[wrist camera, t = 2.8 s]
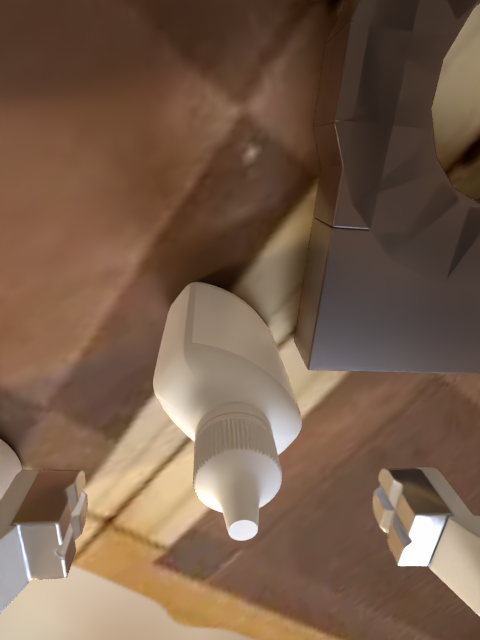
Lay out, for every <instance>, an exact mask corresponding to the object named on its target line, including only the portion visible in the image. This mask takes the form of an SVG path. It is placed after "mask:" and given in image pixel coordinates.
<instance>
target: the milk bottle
mask: <svg viewBox="0 0 480 640" xmlns="http://www.w3.org/2000/svg"><path fill="white" fill-rule="evenodd" d="M21 470H23V469H22V466H21V463H20V460H19V459H18V457H17V455H16V454H15V452H14V451H13V450H12V449H11V448H10V447H9V446H8V444H7V443H5V442H4V441H3V440H1V439H0V500H1V499H2V497H3V496H4V494H5V492H6V491H7V489H8V487H9V486H10V484H11V482H12V481H13V479H14V477H15V476H16V474H18V473H19V472H20V471H21Z"/></svg>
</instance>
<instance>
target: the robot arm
mask: <svg viewBox="0 0 480 640" xmlns="http://www.w3.org/2000/svg"><path fill="white" fill-rule="evenodd" d="M378 480H379V482H380V484H381V485H380V486H379V487H378V488H377V489H376V490H375V491H374V495H373V499H372V503H373V512H374V516H375V519H376V521H377V523H378V525H379V527H380V528H381V529H383V530H384V531H385V532H386V533H387V534H388V537H387V541H386V542H387V544H388V546H389V548H390V550H391V552H392V554H393V557H394V559H395V561H396V563H397V565H398V566H429V568H430V569H431V570H432V571H433V572H434V573H435V574H436V575H437V576H438V577H439V578H440V579H441V580H442V581H443V582H444V583H445V584H446V585H447V586H448V587H450V588H451V589H452V590H453V591H454V592H455V593H456V594H457V595H458V596H459V597H460V598H461V599H462V600H463V601H464V602H465V603H466V604H467V605H468V606H469V607H470V608H471V609H472V610H473V611H474V612H475V613H476V614H478V615H479V616H480V516H473V514H472V513H471V512H470V511H469V509H468V508H467V507H466V505H465V504H464V503H463V501H462V500H461V499H460V497H459V496H458V495H457V494H456V492H455V491H454V490H453V488H452V487H451V486H450V484H449V483H448V482H447V481H446V479H445V478H444V477H443V475H442V474H441V473H440V471H439V470H437V469H436V468H434V467H427V468H383V469H382V470H381V471H380V473H379V477H378ZM85 482H86V481H85V474H84V471H82V470H21V471H20V472H19V473H18V474H16V476H15V477H14V479H13V481H12V482H11V484H10V486H9V487H8V489H7V491H6V492H5V494H4V496H3V497H2V499H1V500H0V613H1V612H2V611H3V610H4V609H5V608H6V607H7V606H8V605H9V604H10V603H11V601H12V600H13V599H14V598H15V597H16V596H17V595H18V594H19V593H20V592H21V591H22V590H23V588H24V587H25V586H26V585H27V584H28V583H29V581H28V580H42V579H57V578H67V575H68V573H69V570H70V567H71V564H72V561H73V558H74V555H75V552H76V547H75V540H76V539H77V538H78V537H79V536H80V535H81V534H82V531H83V528H84V525H85V521H86V515H87V506H88V500H87V494H86V493H85V492H84V491H83V487H84V484H85Z"/></svg>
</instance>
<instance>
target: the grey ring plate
mask: <svg viewBox="0 0 480 640" xmlns="http://www.w3.org/2000/svg"><path fill="white" fill-rule="evenodd" d="M479 3H480V0H346V2H345V4H344V6H343V8H342V10H341V12H340V14H339V16H338V18H337V20H336V22H335V24H334V26H333V28H332V30H331V32H330V34H329V36H328V39H327V41H326V43H325V47H324V53H323V60H322V67H321V75H320V82H319V89H318V96H317V104H316V111H315V118H314V125H313V126H314V128H313V131H314V136H315V140H316V145H317V150H318V154H319V159H320V163H321V169H320V176H319V182H318V189H317V195H316V202H315V209H314V218H313V222H312V228H311V235H310V241H309V248H308V255H307V261H306V268H305V275H304V281H303V288H302V294H301V301H300V308H299V314H298V321H297V328H296V334H295V341H294V342H295V344H296V346H297V348H298V350H299V352H300V354H301V357H302V359H303V361H304V363H305V365H306V367H307V369H308V370H333V371H375V372H417V373H458V374H480V199H478V200H475V201H474V200H472V199H471V198H469V197H468V196H466V195H465V194H463V193H461V192H460V191H458V190H457V189H455V188H454V187H453V186H452V184H451V182H450V180H449V178H448V177H447V175H446V173H445V171H444V169H443V168H442V166H441V164H440V162H439V161H438V159H437V157H436V154H435V143H434V132H433V122H432V111H431V108H432V104H433V100H434V96H435V91H436V87H437V83H438V79H439V75H440V71H441V67H442V63H443V59H444V57H445V55H446V54H447V52H448V50H449V49H450V47H451V45H452V44H453V42H454V40H455V39H456V37H457V35H458V34H459V32H460V30H461V29H462V27H463V25H464V23H465V22H466V20H467V18H468V17H469V15H470V13H471V12H472V10H473V8H475V7H476V6H477V5H478V4H479Z"/></svg>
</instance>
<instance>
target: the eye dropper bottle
mask: <svg viewBox="0 0 480 640" xmlns="http://www.w3.org/2000/svg"><path fill="white" fill-rule="evenodd" d="M153 388H154V392H155V395H156V397H157V399H158V401H159V402H160V404H161V406H162V407H163V409H164V410H165V412H166V413H167V414H168V416H169V417H170V418H171V419H172V421H173V422H174V423H175V424H176V425H177V426H178V427H179V428H180V429H181V430H182V431H183V432H184V433H185V434H186V435H187V436H188V437H189V438H191V439H192V440H193V441H194V442H195V445H194V471H193V487H194V490H195V492H196V494H197V497H198V498H200V500H201V501H202V502H203V503H204V504H205V505H207V506H208V507H210V508H212V509H214V510H216V511H219V512H222V513H223V515H224V518H225V522H226V526H227V530H228V533H229V535H230V537H231V538H233V539H235V540H240V541H243V540H248V539H250V538H252V537H254V536H255V535H256V533H257V531H258V518H259V508H260V507H262V506H264V505H265V504H267V503H268V502H269V501H270V500H271V499H272V498H273V497H274V496H275V495H276V494H277V492H278V490H279V488H280V486H281V483H282V470H281V466H280V461H279V457H278V455H279V454H280V453H282V452H283V451H284V450H285V449H286V448H287V447H288V446H289V445H290V444H291V443H292V442H293V441H294V439H295V438H296V437H297V436H298V434H299V432H300V430H301V426H302V421H301V414H300V411H299V408H298V404H297V401H296V398H295V395H294V393H293V390H292V387H291V384H290V382H289V379H288V376H287V373H286V371H285V368H284V365H283V363H282V360H281V357H280V355H279V352H278V349H277V346H276V344H275V341H274V339H273V336H272V334H271V332H270V330H269V329H268V327H267V325H266V324H265V322H264V321H263V320H262V318H261V317H260V316H259V315H258V314H257V312H256V311H255V310H254V309H253V308H252V307H250V306H249V305H248V304H247V303H246V302H244V301H243V300H242V299H240V298H239V297H237V296H236V295H234V294H232V293H230V292H228V291H226V290H224V289H222V288H219V287H216V286H213V285H210V284H206V283H201V282H193V283H190V284H189V285H187V286H186V287H185V288H184V289H183V291H182V292H181V293H180V294H179V296H178V297H177V298H176V300H175V301H174V302H173V304H172V305H171V307H170V310H169V313H168V317H167V321H166V325H165V329H164V333H163V338H162V342H161V346H160V350H159V355H158V359H157V363H156V368H155V373H154V379H153Z"/></svg>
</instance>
